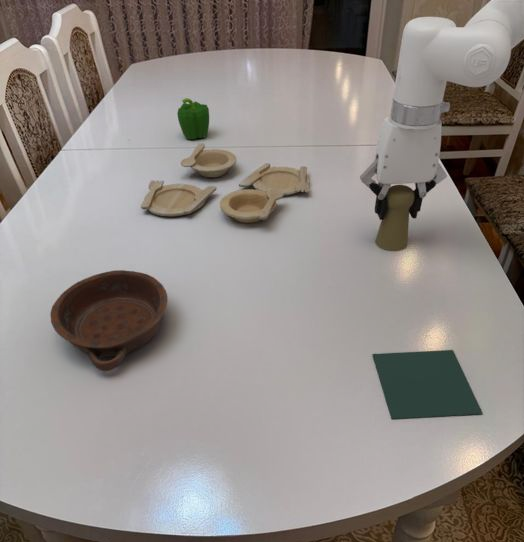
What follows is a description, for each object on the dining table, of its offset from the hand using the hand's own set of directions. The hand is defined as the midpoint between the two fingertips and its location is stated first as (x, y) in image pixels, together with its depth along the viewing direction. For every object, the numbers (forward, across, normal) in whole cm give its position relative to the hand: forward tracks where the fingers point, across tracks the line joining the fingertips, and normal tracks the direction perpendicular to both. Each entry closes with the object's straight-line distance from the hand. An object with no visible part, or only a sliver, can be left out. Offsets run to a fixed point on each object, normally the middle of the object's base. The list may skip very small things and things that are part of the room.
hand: (396, 214), depth 91 cm
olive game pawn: (+6, 0, 0) cm, 6 cm away
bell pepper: (+6, +40, -57) cm, 70 cm away
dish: (+6, +49, +21) cm, 54 cm away
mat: (+6, +4, +36) cm, 37 cm away
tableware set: (+6, +31, -23) cm, 39 cm away
